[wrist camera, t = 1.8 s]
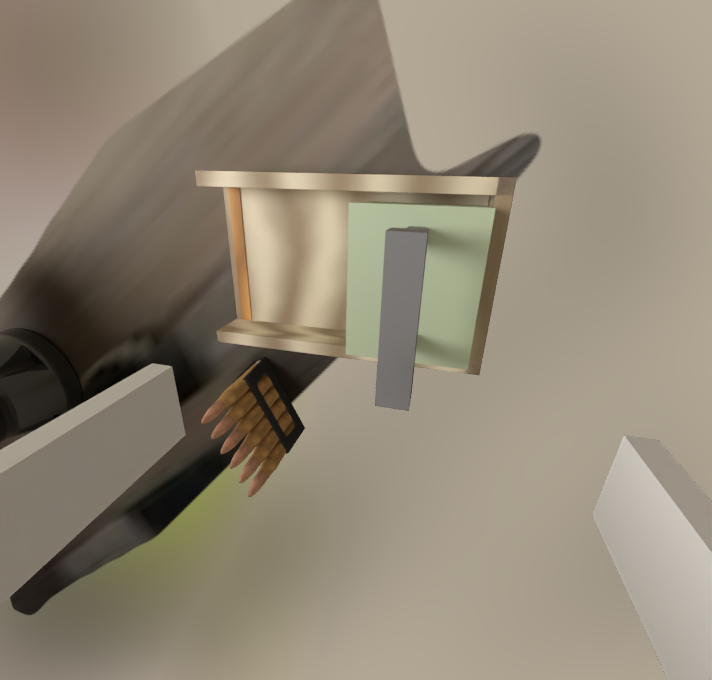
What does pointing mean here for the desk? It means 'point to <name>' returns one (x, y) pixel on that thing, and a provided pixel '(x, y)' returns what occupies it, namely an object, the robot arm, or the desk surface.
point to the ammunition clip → (256, 421)
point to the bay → (327, 251)
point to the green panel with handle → (414, 288)
